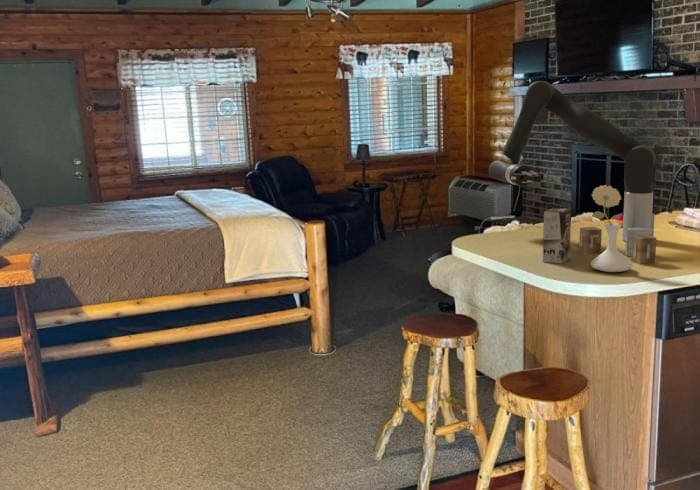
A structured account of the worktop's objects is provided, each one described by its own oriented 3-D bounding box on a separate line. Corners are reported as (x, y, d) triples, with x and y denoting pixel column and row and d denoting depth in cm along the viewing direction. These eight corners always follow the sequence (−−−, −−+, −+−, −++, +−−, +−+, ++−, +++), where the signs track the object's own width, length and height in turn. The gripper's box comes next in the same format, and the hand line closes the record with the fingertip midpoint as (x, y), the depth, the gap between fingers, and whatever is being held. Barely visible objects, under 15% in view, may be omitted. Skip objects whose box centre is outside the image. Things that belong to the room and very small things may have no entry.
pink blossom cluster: (634, 226, 265) (634, 216, 264) (617, 228, 263) (617, 218, 262) (620, 223, 273) (620, 213, 272) (603, 225, 270) (604, 215, 270)
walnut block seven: (593, 250, 225) (594, 226, 223) (601, 253, 219) (602, 229, 218) (578, 251, 224) (579, 227, 222) (586, 254, 219) (586, 230, 217)
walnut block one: (645, 260, 208) (647, 234, 206) (655, 263, 203) (656, 237, 201) (630, 261, 207) (631, 235, 206) (639, 264, 202) (640, 238, 201)
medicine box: (651, 254, 215) (653, 227, 214) (652, 257, 211) (654, 230, 209) (625, 253, 218) (626, 227, 216) (625, 256, 214) (627, 229, 212)
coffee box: (562, 263, 207) (564, 212, 204) (541, 262, 210) (543, 211, 207) (570, 258, 214) (572, 208, 211) (550, 256, 218) (551, 207, 215)
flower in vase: (640, 270, 195) (644, 185, 190) (616, 277, 189) (620, 189, 184) (600, 263, 206) (603, 182, 201) (577, 269, 199) (580, 185, 195)
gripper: (501, 165, 238) (519, 168, 221) (536, 163, 240) (557, 166, 223) (501, 186, 240) (519, 191, 223) (536, 184, 241) (557, 188, 224)
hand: (538, 178), depth 223 cm, fingers closed
